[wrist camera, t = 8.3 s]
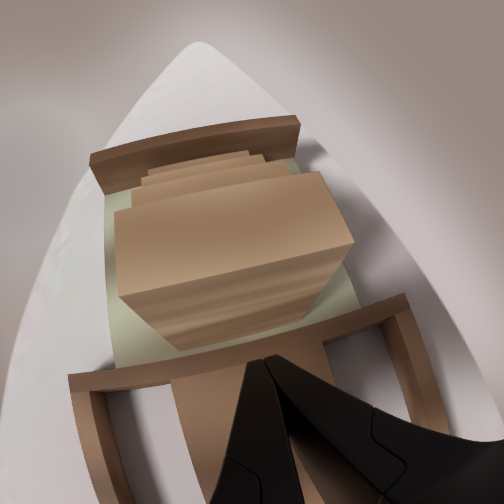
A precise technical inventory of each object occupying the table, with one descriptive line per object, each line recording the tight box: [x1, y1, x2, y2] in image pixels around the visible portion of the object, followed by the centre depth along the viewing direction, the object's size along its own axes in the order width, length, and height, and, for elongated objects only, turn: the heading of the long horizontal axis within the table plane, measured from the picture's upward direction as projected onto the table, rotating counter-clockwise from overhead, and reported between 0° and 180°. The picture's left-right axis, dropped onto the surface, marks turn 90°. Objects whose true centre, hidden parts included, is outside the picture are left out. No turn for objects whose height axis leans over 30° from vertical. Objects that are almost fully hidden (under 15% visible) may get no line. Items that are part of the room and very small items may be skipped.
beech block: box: [114, 150, 355, 351], centre depth 13 cm, size 10×6×8 cm, turn 15°
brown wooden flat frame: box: [68, 115, 450, 504], centre depth 13 cm, size 27×19×5 cm
